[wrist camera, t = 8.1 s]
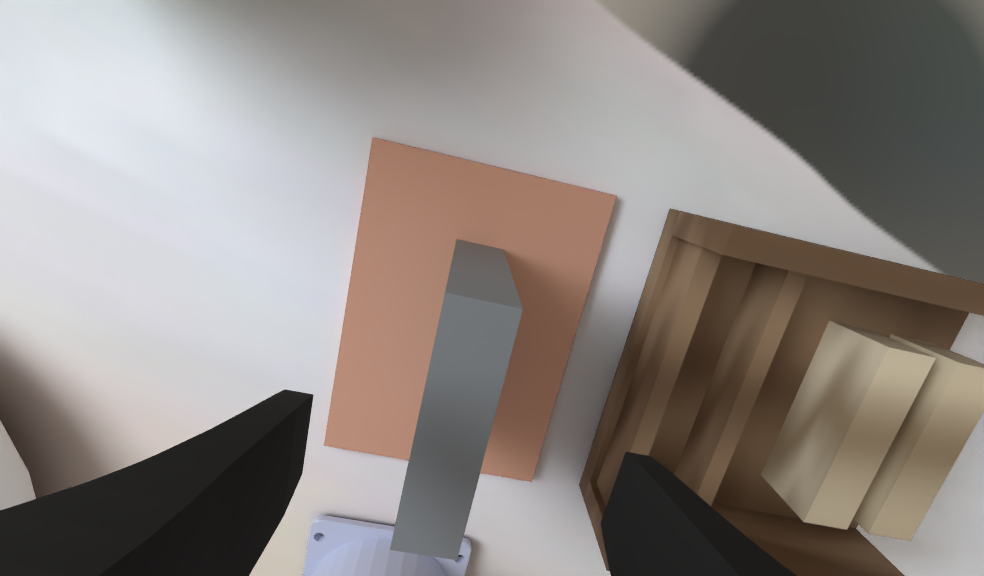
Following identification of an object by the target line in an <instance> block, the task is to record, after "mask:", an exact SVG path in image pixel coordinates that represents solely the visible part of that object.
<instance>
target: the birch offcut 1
mask: <svg viewBox="0 0 984 576" xmlns="http://www.w3.org/2000/svg"><path fill="white" fill-rule="evenodd" d="M935 359H936V358H935V357H933V356H931V355H929V354H926V353H924V352H922V351H919V350H917V349H915V348H912V347H910V346H908V345H905V344H903V343H901V342H898V341H896V340H894V339H891V338H889V337H887V336H884V335H882V334H880V333H877V332H875V331H873V330H870V329H866V328H861V327H857V326H852V325H848V324H843V323H839V322H835V321H830V320H829V323H828V325H827V327H826V329H825V332H824V334H823V336H822V338H821V341H820V343H819V345H818V347H817V350H816V352H815V354H814V356H813V359H812V361H811V363H810V365H809V368H808V370H807V372H806V374H805V377H804V379H803V381H802V383H801V386H800V388H799V390H798V392H797V395H796V397H795V399H794V401H793V404H792V406H791V408H790V410H789V413H788V415H787V417H786V419H785V422H784V424H783V426H782V428H781V431H780V433H779V435H778V437H777V440H776V442H775V444H774V446H773V449H772V451H771V453H770V455H769V458H768V460H767V462H766V464H765V467H764V469H763V471H762V473H761V476H762V477H763V478H764V479H765V480H766V481H767V482H768V483H769V484H770V486H771V487H772V488H773V489H774V490H775V491H776V492H777V493H778V494H779V495H780V497H781V498H782V499H783V500H784V501H785V502H786V503H787V504H788V505H789V506H790V508H791V509H792V510H793V511H794V512H795V513H796V514H797V515H798V516H799V517H800V519H801V520H802V521H803V522H806V523H812V524H817V525H823V526H829V527H834V528H840V529H846V530H847V529H848V527H849V525H850V523H851V521H852V519H853V517H854V515H855V513H856V511H857V509H858V507H859V506H860V504H861V502H862V500H863V498H864V496H865V494H866V492H867V490H868V488H869V486H870V484H871V482H872V480H873V479H874V477H875V475H876V473H877V471H878V469H879V467H880V465H881V463H882V461H883V459H884V457H885V455H886V454H887V452H888V450H889V448H890V446H891V444H892V442H893V440H894V438H895V436H896V434H897V432H898V430H899V428H900V427H901V425H902V423H903V421H904V419H905V417H906V415H907V413H908V411H909V409H910V407H911V405H912V403H913V401H914V400H915V398H916V396H917V394H918V392H919V390H920V388H921V386H922V384H923V382H924V380H925V378H926V376H927V375H928V373H929V371H930V369H931V367H932V365H933V363H934V361H935Z"/></svg>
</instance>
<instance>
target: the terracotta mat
mask: <svg viewBox="0 0 984 576" xmlns="http://www.w3.org/2000/svg"><path fill="white" fill-rule="evenodd" d="M616 197H617V196H615V195H611V194H607V193H603V192H599V191H594V190H590V189H586V188H582V187H578V186H574V185H570V184H565V183H561V182H557V181H553V180H549V179H545V178H540V177H536V176H532V175H528V174H524V173H520V172H515V171H511V170H507V169H503V168H499V167H495V166H490V165H486V164H482V163H478V162H474V161H470V160H465V159H461V158H457V157H453V156H449V155H445V154H440V153H436V152H432V151H428V150H424V149H420V148H415V147H411V146H407V145H403V144H399V143H395V142H390V141H386V140H382V139H378V138H374V137H373V138H372V145H371V151H370V157H369V164H368V170H367V176H366V183H365V189H364V195H363V202H362V208H361V214H360V221H359V227H358V233H357V240H356V246H355V252H354V259H353V265H352V271H351V278H350V284H349V290H348V297H347V303H346V309H345V316H344V322H343V328H342V335H341V341H340V347H339V354H338V360H337V366H336V373H335V379H334V385H333V392H332V398H331V404H330V411H329V417H328V423H327V430H326V436H325V442H324V446H330V447H335V448H341V449H347V450H352V451H358V452H364V453H370V454H375V455H381V456H387V457H393V458H398V459H404V460H409V458H410V453H411V449H412V444H413V439H414V435H415V430H416V425H417V421H418V416H419V411H420V407H421V402H422V397H423V393H424V388H425V383H426V379H427V374H428V369H429V365H430V360H431V355H432V351H433V346H434V341H435V337H436V332H437V327H438V323H439V318H440V313H441V309H442V304H443V299H444V295H445V290H446V285H447V281H448V276H449V271H450V267H451V262H452V258H453V253H454V248H455V244H456V239H459V240H464V241H468V242H473V243H477V244H482V245H486V246H491V247H495V248H500V249H504V253H505V256H506V259H507V262H508V265H509V268H510V271H511V274H512V277H513V280H514V283H515V286H516V289H517V292H518V295H519V299H520V302H521V305H522V308H523V311H522V314H521V318H520V322H519V326H518V330H517V333H516V337H515V341H514V345H513V349H512V353H511V356H510V360H509V364H508V368H507V372H506V375H505V379H504V383H503V387H502V391H501V395H500V398H499V402H498V406H497V410H496V414H495V417H494V421H493V425H492V429H491V433H490V437H489V440H488V444H487V448H486V452H485V456H484V459H483V463H482V467H481V471H480V473H484V474H490V475H496V476H501V477H507V478H513V479H519V480H524V481H530V482H532V479H533V476H534V473H535V469H536V466H537V462H538V459H539V456H540V452H541V449H542V446H543V442H544V439H545V436H546V432H547V429H548V425H549V422H550V419H551V415H552V412H553V409H554V405H555V402H556V399H557V395H558V392H559V388H560V385H561V382H562V378H563V375H564V372H565V368H566V365H567V362H568V358H569V355H570V351H571V348H572V345H573V341H574V338H575V335H576V331H577V328H578V325H579V321H580V318H581V314H582V311H583V308H584V304H585V301H586V298H587V294H588V291H589V287H590V284H591V281H592V277H593V274H594V271H595V267H596V264H597V261H598V257H599V254H600V250H601V247H602V244H603V240H604V237H605V234H606V230H607V227H608V224H609V220H610V217H611V213H612V210H613V207H614V203H615V200H616Z"/></svg>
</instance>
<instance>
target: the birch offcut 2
mask: <svg viewBox="0 0 984 576" xmlns="http://www.w3.org/2000/svg"><path fill="white" fill-rule="evenodd" d="M889 338H891V339H894V340H896V341H898V342H901V343H903V344H905V345H908V346H910V347H912V348H915V349H917V350H919V351H922V352H924V353H926V354H929V355H931V356H933V357H935V358H936V359H935V361H934V363H933V365H932V367H931V369H930V371H929V373H928V375H927V376H926V378H925V380H924V382H923V384H922V386H921V388H920V390H919V392H918V394H917V396H916V398H915V400H914V401H913V403H912V405H911V407H910V409H909V411H908V413H907V415H906V417H905V419H904V421H903V423H902V425H901V427H900V428H899V430H898V432H897V434H896V436H895V438H894V440H893V442H892V444H891V446H890V448H889V450H888V452H887V454H886V455H885V457H884V459H883V461H882V463H881V465H880V467H879V469H878V471H877V473H876V475H875V477H874V479H873V480H872V482H871V484H870V486H869V488H868V490H867V492H866V494H865V496H864V498H863V500H862V502H861V504H860V506H859V507H858V509H857V511H856V513H855V515H854V517H853V519H854V520H855V521H856V522H857V523H858V524H859V525H860V526H861V527H862V528H863V529H864V530H865V531H866V532H867V533H869V534H874V535H880V536H886V537H891V538H897V539H903V540H908V541H911V539H912V537H913V535H914V533H915V532H916V530H917V528H918V526H919V525H920V523H921V521H922V519H923V518H924V516H925V514H926V512H927V510H928V509H929V507H930V505H931V503H932V502H933V500H934V498H935V496H936V495H937V493H938V491H939V489H940V488H941V486H942V484H943V482H944V480H945V479H946V477H947V475H948V473H949V472H950V470H951V468H952V466H953V465H954V463H955V461H956V459H957V457H958V456H959V454H960V452H961V450H962V449H963V447H964V445H965V443H966V442H967V440H968V438H969V436H970V434H971V433H972V431H973V429H974V427H975V426H976V424H977V422H978V420H979V419H980V417H981V415H982V413H983V412H984V364H982V363H979V362H977V361H974V360H972V359H969V358H967V357H964V356H962V355H959V354H957V353H954V352H952V351H949V350H947V349H945V348H942V347H940V346H937V345H935V344H932V343H929V342H924V341H920V340H915V339H911V338H906V337H902V336H897V335H893V334H891V335H890V337H889Z"/></svg>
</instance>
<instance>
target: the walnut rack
mask: <svg viewBox="0 0 984 576" xmlns="http://www.w3.org/2000/svg"><path fill="white" fill-rule="evenodd" d="M969 312H970V313H974V314H979V315H983V316H984V284H981V283H977V282H973V281H969V280H965V279H961V278H957V277H953V276H948V275H944V274H940V273H936V272H932V271H928V270H923V269H919V268H915V267H911V266H907V265H903V264H898V263H894V262H890V261H886V260H882V259H878V258H873V257H869V256H865V255H861V254H857V253H853V252H848V251H844V250H840V249H836V248H832V247H828V246H823V245H819V244H815V243H811V242H807V241H803V240H798V239H794V238H790V237H786V236H782V235H778V234H774V233H769V232H765V231H761V230H757V229H753V228H749V227H744V226H740V225H736V224H732V223H728V222H724V221H719V220H715V219H711V218H707V217H703V216H699V215H694V214H690V213H686V212H682V211H678V210H674V209H670V210H669V213H668V216H667V219H666V222H665V225H664V228H663V231H662V235H661V238H660V241H659V244H658V247H657V250H656V253H655V256H654V259H653V262H652V265H651V268H650V271H649V274H648V277H647V280H646V283H645V286H644V289H643V292H642V295H641V298H640V301H639V304H638V308H637V311H636V314H635V317H634V320H633V323H632V326H631V329H630V332H629V335H628V338H627V341H626V344H625V347H624V350H623V353H622V356H621V359H620V362H619V365H618V368H617V371H616V374H615V377H614V381H613V384H612V387H611V390H610V393H609V396H608V399H607V402H606V405H605V408H604V411H603V414H602V417H601V420H600V423H599V426H598V429H597V432H596V435H595V438H594V441H593V444H592V447H591V450H590V454H589V457H588V460H587V463H586V466H585V469H584V472H583V475H582V478H581V481H580V484H579V486H580V489H581V492H582V495H583V498H584V501H585V504H586V508H587V511H588V514H589V517H590V520H591V523H592V526H593V529H594V532H595V535H596V539H597V542H598V545H599V548H600V551H601V554H602V557H603V560H604V563H605V566H606V570H607V571H610V570H609V566H608V561H607V556H606V552H605V546H604V541H603V535H602V529H601V520H602V517H603V515H604V512H605V509H606V506H607V503H608V500H609V497H610V495H611V492H612V489H613V486H614V483H615V480H616V478H617V475H618V472H619V469H620V466H621V463H622V460H623V458H624V455H625V452H630V453H636V454H641V455H647V456H651V457H652V458H654V459H655V460H656V461H658V462H659V463H660V464H662V465H663V466H664V467H665V468H667V469H668V470H669V471H670V472H672V473H673V474H674V475H675V476H676V477H678V478H679V479H680V480H681V481H682V482H683V483H684V484H686V485H687V486H688V487H689V488H690V489H691V490H693V491H694V492H695V493H696V494H697V495H698V496H699V497H701V498H702V499H703V500H704V501H705V502H706V503H708V504H709V505H710V506H711V507H712V508H713V509H714V510H716V511H717V512H718V513H719V514H720V515H721V516H723V517H724V518H725V519H726V520H727V521H729V522H730V523H731V524H732V525H733V526H735V527H736V528H737V529H738V530H739V531H741V532H742V533H743V534H744V535H745V536H747V537H748V538H749V539H750V540H752V541H753V542H754V543H755V544H757V545H758V546H759V547H760V548H762V549H763V550H764V551H765V552H767V553H768V554H769V555H771V556H772V557H773V558H774V559H776V560H777V561H778V562H779V563H781V564H782V565H783V566H785V567H786V568H787V569H789V570H790V571H791V572H793V573H794V574H795V575H797V576H904V575H903V574H902V573H901V572H900V571H899V570H898V569H897V568H896V567H895V566H894V565H893V564H892V563H891V562H890V561H889V560H888V559H887V558H886V557H885V556H884V555H882V554H881V553H880V552H879V551H878V550H877V549H876V548H875V547H874V546H873V545H872V544H871V543H870V542H869V541H868V540H867V539H866V538H865V537H864V536H863V535H862V534H861V533H860V532H859V531H858V530H857V529H856V527H857V525H858V523H857V522H856V521H855V520H854V519H852V521H851V523H850V525H849V527H848V529H847V530H846V529H840V528H834V527H829V526H823V525H817V524H812V523H806V522H803V521H802V520H801V519H800V517H799V516H798V515H797V514H796V513H795V512H794V511H793V510H792V509H791V508H790V506H789V505H788V504H787V503H786V502H785V501H784V500H783V499H782V498H781V497H780V495H779V494H778V493H777V492H776V491H775V490H774V489H773V488H772V487H771V486H770V484H769V483H768V482H767V481H766V480H765V479H764V478H763V477H762V476H761V473H762V471H763V469H764V467H765V464H766V462H767V460H768V458H769V455H770V453H771V451H772V449H773V446H774V444H775V442H776V440H777V437H778V435H779V433H780V431H781V428H782V426H783V424H784V422H785V419H786V417H787V415H788V413H789V410H790V408H791V406H792V404H793V401H794V399H795V397H796V395H797V392H798V390H799V388H800V386H801V383H802V381H803V379H804V377H805V374H806V372H807V370H808V368H809V365H810V363H811V361H812V359H813V356H814V354H815V352H816V350H817V347H818V345H819V343H820V341H821V338H822V336H823V334H824V332H825V329H826V327H827V325H828V323H829V320H830V321H835V322H839V323H843V324H848V325H852V326H857V327H861V328H866V329H870V330H873V331H875V332H877V333H880V334H882V335H884V336H887V337H890V335H891V334H893V335H897V336H902V337H906V338H911V339H915V340H920V341H924V342H929V343H932V344H935V345H937V346H940V347H942V348H945V349H947V350H950V348H951V346H952V344H953V342H954V340H955V338H956V337H957V335H958V333H959V331H960V329H961V327H962V325H963V323H964V321H965V319H966V318H967V316H968V314H969Z"/></svg>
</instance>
